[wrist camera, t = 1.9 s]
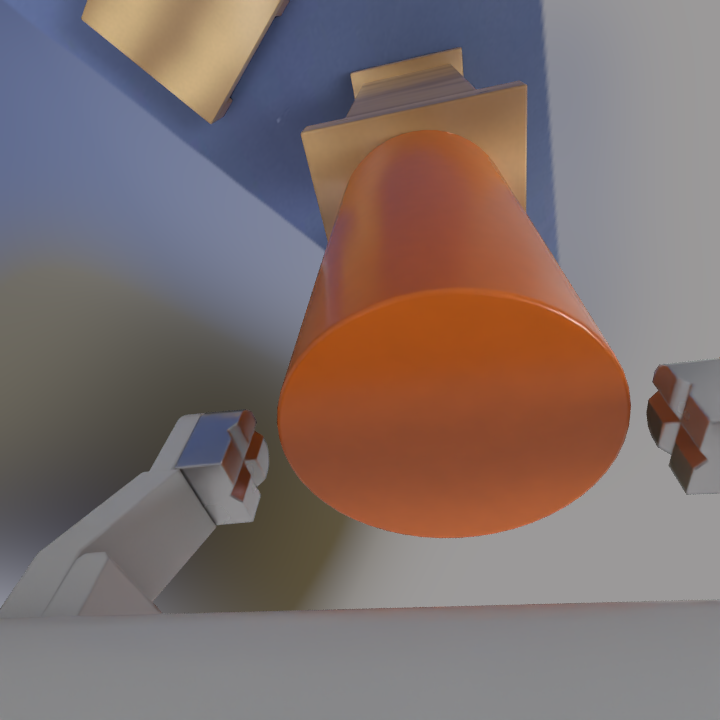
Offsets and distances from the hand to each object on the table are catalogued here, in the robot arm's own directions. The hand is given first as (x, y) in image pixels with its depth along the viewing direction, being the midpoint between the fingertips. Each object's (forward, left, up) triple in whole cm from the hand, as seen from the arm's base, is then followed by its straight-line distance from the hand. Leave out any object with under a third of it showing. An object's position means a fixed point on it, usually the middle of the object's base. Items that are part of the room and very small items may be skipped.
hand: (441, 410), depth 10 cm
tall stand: (0, 0, -33) cm, 33 cm away
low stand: (-10, -14, -33) cm, 37 cm away
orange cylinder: (0, 0, -11) cm, 11 cm away
